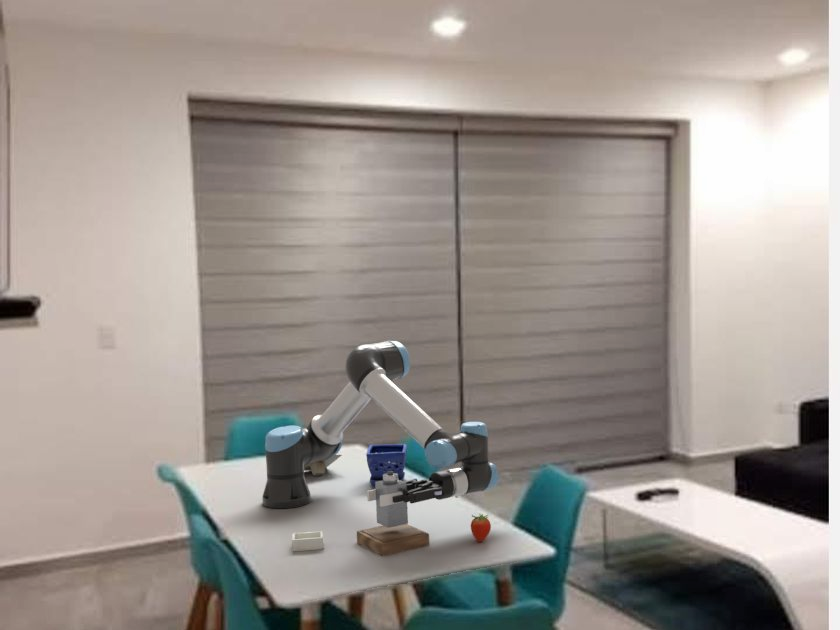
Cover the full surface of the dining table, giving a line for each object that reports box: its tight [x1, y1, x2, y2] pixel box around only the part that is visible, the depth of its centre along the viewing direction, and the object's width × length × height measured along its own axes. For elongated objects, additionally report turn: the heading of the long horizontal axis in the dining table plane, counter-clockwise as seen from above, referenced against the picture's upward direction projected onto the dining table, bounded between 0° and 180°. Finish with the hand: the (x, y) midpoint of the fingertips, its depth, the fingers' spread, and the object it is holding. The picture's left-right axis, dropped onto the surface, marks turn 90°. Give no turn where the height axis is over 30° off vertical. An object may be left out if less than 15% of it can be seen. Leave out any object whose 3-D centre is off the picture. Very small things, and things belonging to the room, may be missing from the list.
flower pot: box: [365, 443, 408, 487], centre depth 299 cm, size 13×13×12 cm
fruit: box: [470, 513, 492, 543], centre depth 233 cm, size 5×5×8 cm
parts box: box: [291, 530, 324, 552], centre depth 234 cm, size 8×6×3 cm
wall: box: [304, 454, 343, 477], centre depth 313 cm, size 16×9×15 cm
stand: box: [356, 523, 430, 557], centre depth 234 cm, size 14×14×3 cm
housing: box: [374, 471, 409, 528], centre depth 233 cm, size 6×6×14 cm
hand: (374, 498), depth 231 cm, fingers closed on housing, 6 cm apart
